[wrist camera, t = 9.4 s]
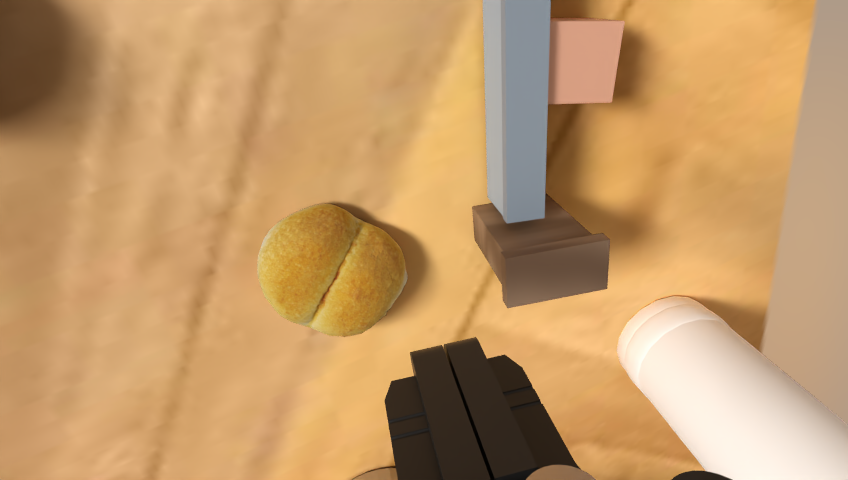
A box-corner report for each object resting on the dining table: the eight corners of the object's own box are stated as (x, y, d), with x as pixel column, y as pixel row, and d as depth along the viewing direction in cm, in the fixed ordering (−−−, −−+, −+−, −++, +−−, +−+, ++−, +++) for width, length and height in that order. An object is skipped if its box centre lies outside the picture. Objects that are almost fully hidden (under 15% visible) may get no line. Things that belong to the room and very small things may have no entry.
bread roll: (295, 179, 30) (291, 203, 27) (420, 243, 34) (431, 272, 30) (235, 286, 33) (224, 321, 29) (357, 336, 36) (361, 374, 32)
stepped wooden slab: (550, 230, 35) (607, 288, 28) (470, 244, 34) (507, 308, 27) (550, 188, 33) (610, 239, 26) (467, 203, 33) (505, 258, 26)
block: (588, 17, 29) (624, 21, 26) (579, 90, 31) (611, 102, 27) (521, 17, 28) (549, 21, 25) (515, 91, 30) (540, 104, 27)
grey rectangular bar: (478, -63, 26) (504, -73, 22) (519, -66, 26) (552, -76, 22) (485, 196, 32) (507, 223, 29) (518, 191, 33) (544, 218, 29)
